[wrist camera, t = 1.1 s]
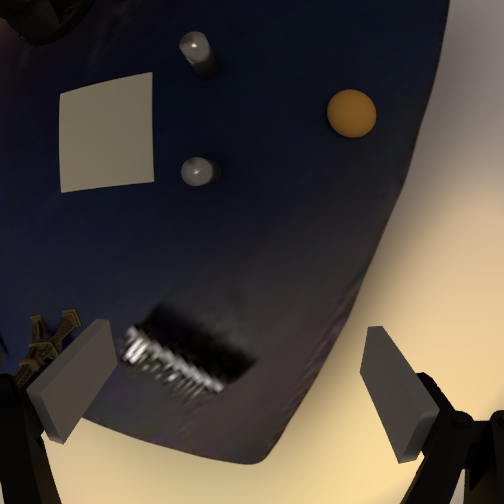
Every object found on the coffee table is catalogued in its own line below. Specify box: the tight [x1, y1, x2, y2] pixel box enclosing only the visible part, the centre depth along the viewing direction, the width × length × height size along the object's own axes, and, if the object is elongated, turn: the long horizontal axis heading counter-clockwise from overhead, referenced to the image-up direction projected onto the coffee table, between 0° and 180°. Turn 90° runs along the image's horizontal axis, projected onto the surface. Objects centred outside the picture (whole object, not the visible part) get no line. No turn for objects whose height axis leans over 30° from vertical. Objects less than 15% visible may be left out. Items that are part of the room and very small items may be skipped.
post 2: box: [181, 157, 222, 186], centre depth 32 cm, size 3×3×9 cm
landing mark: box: [59, 72, 154, 193], centre depth 35 cm, size 14×14×1 cm
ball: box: [327, 90, 376, 138], centre depth 32 cm, size 6×6×6 cm
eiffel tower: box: [14, 308, 82, 389], centre depth 31 cm, size 11×11×25 cm
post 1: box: [180, 32, 219, 80], centre depth 29 cm, size 3×3×9 cm
